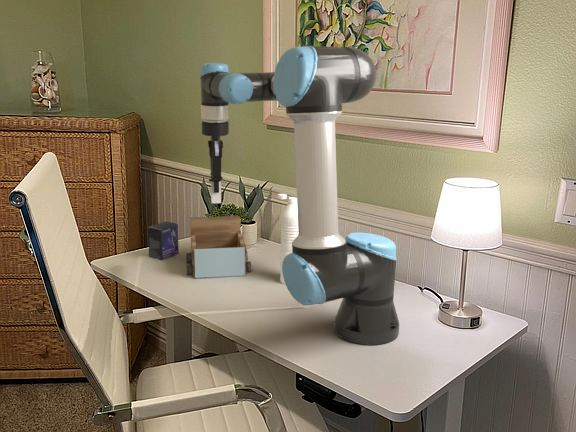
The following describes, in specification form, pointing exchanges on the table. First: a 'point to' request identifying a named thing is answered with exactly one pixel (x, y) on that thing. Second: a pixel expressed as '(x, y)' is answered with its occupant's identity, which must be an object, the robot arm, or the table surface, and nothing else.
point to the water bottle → (288, 228)
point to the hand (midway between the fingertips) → (216, 202)
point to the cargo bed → (215, 237)
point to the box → (163, 240)
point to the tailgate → (219, 262)
